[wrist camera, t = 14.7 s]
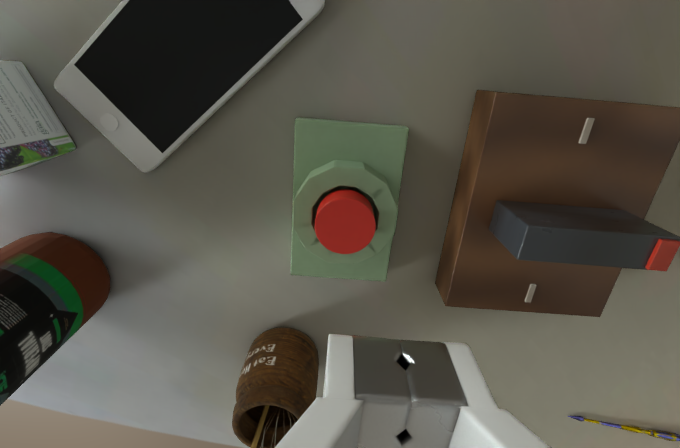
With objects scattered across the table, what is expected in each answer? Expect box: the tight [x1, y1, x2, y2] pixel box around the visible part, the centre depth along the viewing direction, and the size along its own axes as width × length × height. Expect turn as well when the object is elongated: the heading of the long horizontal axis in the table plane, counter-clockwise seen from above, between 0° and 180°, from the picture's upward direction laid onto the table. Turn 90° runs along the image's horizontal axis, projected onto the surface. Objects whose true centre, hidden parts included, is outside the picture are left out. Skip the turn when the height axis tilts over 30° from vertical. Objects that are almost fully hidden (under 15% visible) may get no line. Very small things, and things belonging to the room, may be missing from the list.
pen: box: [568, 416, 680, 441], centre depth 33 cm, size 14×1×1 cm
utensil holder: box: [232, 327, 319, 448], centre depth 25 cm, size 6×6×12 cm
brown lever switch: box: [435, 90, 680, 317], centre depth 23 cm, size 14×11×3 cm
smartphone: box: [54, 0, 325, 173], centre depth 20 cm, size 7×16×1 cm, turn 129°
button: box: [315, 189, 376, 254], centre depth 22 cm, size 4×4×2 cm
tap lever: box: [489, 200, 680, 271], centre depth 20 cm, size 8×2×4 cm, turn 85°
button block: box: [291, 117, 409, 282], centre depth 23 cm, size 11×7×3 cm, turn 175°
